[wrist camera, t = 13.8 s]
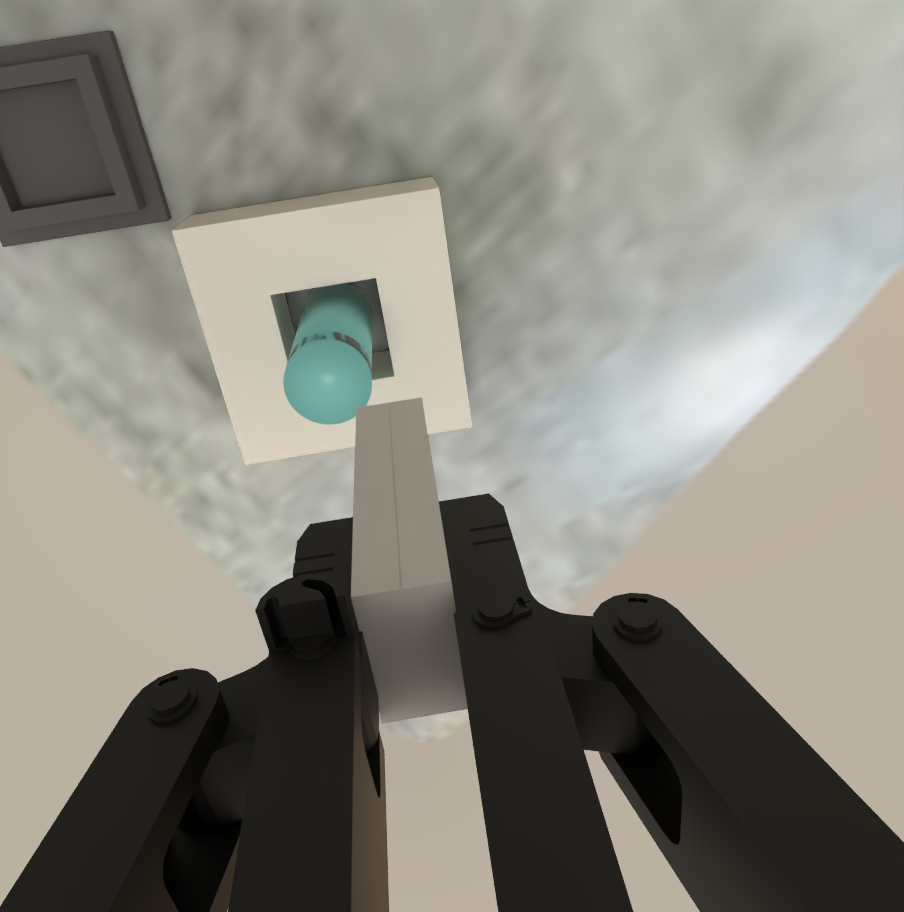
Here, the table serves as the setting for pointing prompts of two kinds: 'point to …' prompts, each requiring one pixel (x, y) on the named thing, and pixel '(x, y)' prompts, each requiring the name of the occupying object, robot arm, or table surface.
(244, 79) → the table surface
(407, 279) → the port
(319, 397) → the plug
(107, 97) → the grey square socket
